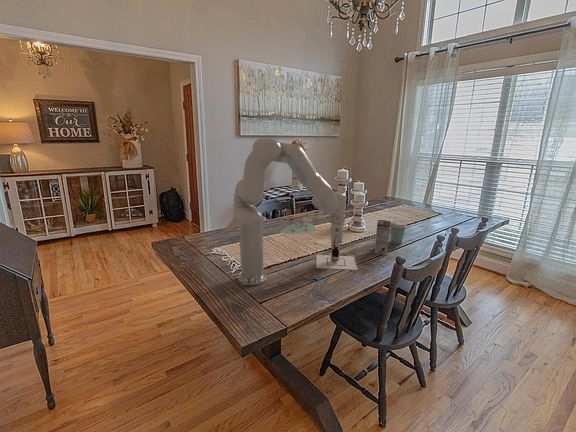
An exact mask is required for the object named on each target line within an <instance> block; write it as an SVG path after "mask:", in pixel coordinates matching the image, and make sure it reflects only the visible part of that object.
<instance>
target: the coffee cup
mask: <svg viewBox="0 0 576 432" xmlns="http://www.w3.org/2000/svg"><path fill="white" fill-rule="evenodd" d="M405 230H406V223H405V222H404V221H399V220H393V221H391V224H390V243H391V244H392V245H397V246H398V245H402V242H403V239H404V234H405Z"/></svg>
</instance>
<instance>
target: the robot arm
mask: <svg viewBox="0 0 576 432" xmlns="http://www.w3.org/2000/svg"><path fill="white" fill-rule="evenodd" d="M272 162H277V163H284V164H287V165H288V166H289V168H290V170H291V171H292V172H293V174H294V175H295V177H296V179H297V181H298V182H299V183H300V184H301V185H302V186H303V187H304V188H305V189H307V190H308V191H310V192H311V193H312V194H313V196H312V198H311V203H312V206H313V207H315V208H316V209H319V210H321V211H323V212H326V213H328V222H329V223H330V240H331V242H332V243H333V249H332V257H339V256H340V250H339V243H340V245H342V244H343V231H344V229H343V228H344V227H343V226H344V223H345V222H346V207H347V194H346V193H344V192H340V191H334V190H333V189H332V187H331V186H330V184H328V182H327V181H326V180H325V179H324V178H323V177H322V176H321V174H320V173H318V171H317V170H316V168H315V167H314V165H313V164H312V161H311V160H310V158H309V157H308V155H307V153H306V152H305V150H304V149H303V147H301V145H299V144H293V143H286V142H280V141H278V140H276V139H274V138H263V137H261V138H258V139H256V140H255V141H254V143H253V145H252V150H251V151H250V153H249V154H248V156H247V158H246V160H245V163H244V169H243V174H242V175H243V176H242V179H240V180H238V182H237V183H236V185H235V188H234V193H233V194H234V197H233V218H234V220H235V222H237V224H238V225H239V226H240V232H239V233H240V234H239V249H240V273H239V274H238V275H237V281H238V282H239V283H240V284H242V285H245V286H257V285H261V284H263V283H264V282H266V281H267V280H268V275H267V273H266V272H265V271H264V243H263V241H264V239H263V238H264V237H263V236H264V227H265V218H264V216H263V215H264V214H262V212H261V211H260V210H259V209H257V208H256V206H257V205H259V204H260V203H261V202H262V201H263V199H264V192H265V180H266V179H265V178H266V171H267V168H268V166H269V165H270V164H271V163H272ZM334 242H335V243H334ZM334 244H335V245H334Z"/></svg>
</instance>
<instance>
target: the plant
mask: <svg viewBox="0 0 576 432" xmlns="http://www.w3.org/2000/svg"><path fill="white" fill-rule="evenodd" d="M303 218H304V216H303V215H301V216H300V221H299V219H297V220H296V221H297V222H296V223H293V224H290V225H288V226H286V227H284V228H283V229H281V230H280V231H279V233H281V234H288V235H296V234H299V235H300V234H309V233H313V232H315V231H316V230H317V229H316V226H315V225H314V224H312V223H310V222H305V221H304V219H303Z"/></svg>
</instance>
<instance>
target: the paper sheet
mask: <svg viewBox="0 0 576 432" xmlns="http://www.w3.org/2000/svg"><path fill="white" fill-rule="evenodd" d="M315 258H316V265H315V266H316V267H315V268H316V269H325V270H326V269H327V270H328V269H329V270H344V271H345V270H347V271H358V270H359V269H358V266H357V263H356V259H355V256H351V255H350V256H349V255H348V256H347V255H339V261H331V254H330V255H326V254H316V257H315Z"/></svg>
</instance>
